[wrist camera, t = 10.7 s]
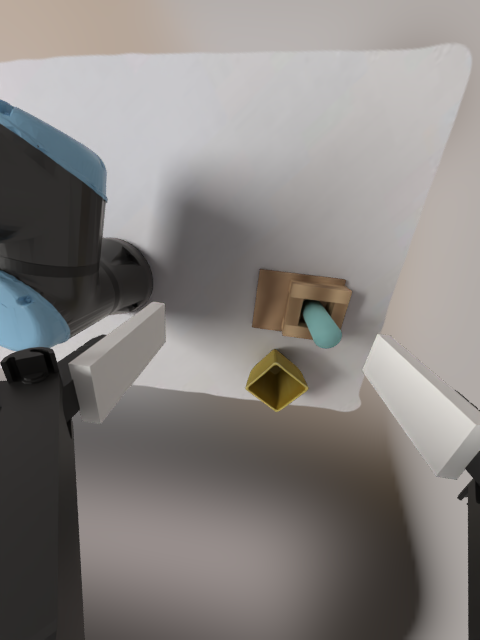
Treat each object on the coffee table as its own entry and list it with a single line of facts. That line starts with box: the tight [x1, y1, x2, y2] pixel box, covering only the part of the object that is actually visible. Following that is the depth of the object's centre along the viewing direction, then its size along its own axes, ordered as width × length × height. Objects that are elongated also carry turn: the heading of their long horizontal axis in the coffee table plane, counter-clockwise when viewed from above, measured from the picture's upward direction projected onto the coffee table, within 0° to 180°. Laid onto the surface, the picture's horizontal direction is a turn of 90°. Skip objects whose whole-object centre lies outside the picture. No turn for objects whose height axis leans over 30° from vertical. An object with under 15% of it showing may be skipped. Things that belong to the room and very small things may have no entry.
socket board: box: [252, 269, 352, 340], centre depth 42 cm, size 16×12×5 cm
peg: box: [301, 299, 342, 348], centre depth 38 cm, size 4×4×12 cm
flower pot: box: [245, 349, 309, 412], centre depth 46 cm, size 9×9×9 cm
